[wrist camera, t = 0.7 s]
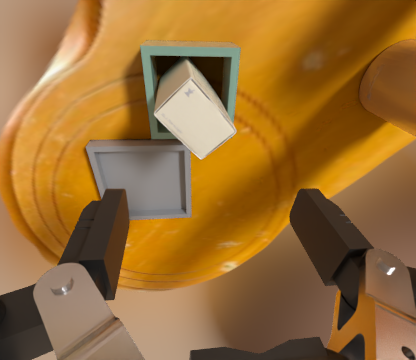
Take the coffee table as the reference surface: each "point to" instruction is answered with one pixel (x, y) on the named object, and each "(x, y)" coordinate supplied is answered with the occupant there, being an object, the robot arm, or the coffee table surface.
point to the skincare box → (192, 109)
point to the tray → (145, 175)
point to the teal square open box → (188, 49)
